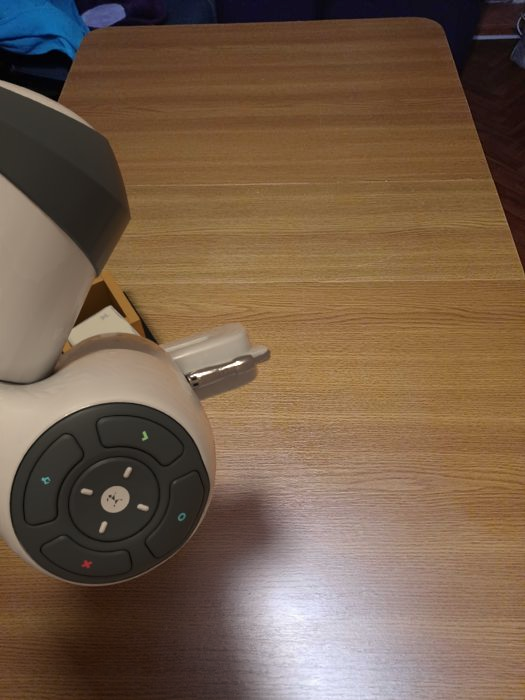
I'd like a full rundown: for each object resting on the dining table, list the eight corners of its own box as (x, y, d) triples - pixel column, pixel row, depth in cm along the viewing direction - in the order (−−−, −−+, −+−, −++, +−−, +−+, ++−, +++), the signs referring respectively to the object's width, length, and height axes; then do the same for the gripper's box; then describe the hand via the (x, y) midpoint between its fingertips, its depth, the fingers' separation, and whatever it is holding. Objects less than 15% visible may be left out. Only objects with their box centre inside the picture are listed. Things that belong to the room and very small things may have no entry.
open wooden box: (75, 399, 74) (58, 367, 69) (41, 333, 80) (23, 299, 75) (164, 355, 77) (154, 321, 72) (125, 294, 84) (113, 259, 78)
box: (101, 417, 56) (58, 331, 46) (140, 389, 58) (108, 300, 47) (133, 456, 54) (96, 374, 43) (174, 426, 55) (147, 341, 45)
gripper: (264, 307, 38) (227, 299, 52) (-76, 411, 35) (-21, 373, 48) (290, 401, 39) (247, 369, 53) (-36, 512, 36) (6, 447, 49)
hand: (117, 372), depth 50 cm, fingers closed on box, 5 cm apart
